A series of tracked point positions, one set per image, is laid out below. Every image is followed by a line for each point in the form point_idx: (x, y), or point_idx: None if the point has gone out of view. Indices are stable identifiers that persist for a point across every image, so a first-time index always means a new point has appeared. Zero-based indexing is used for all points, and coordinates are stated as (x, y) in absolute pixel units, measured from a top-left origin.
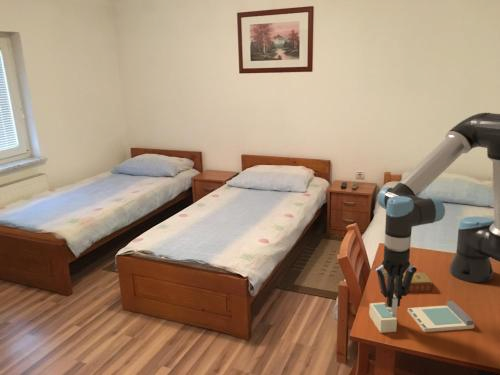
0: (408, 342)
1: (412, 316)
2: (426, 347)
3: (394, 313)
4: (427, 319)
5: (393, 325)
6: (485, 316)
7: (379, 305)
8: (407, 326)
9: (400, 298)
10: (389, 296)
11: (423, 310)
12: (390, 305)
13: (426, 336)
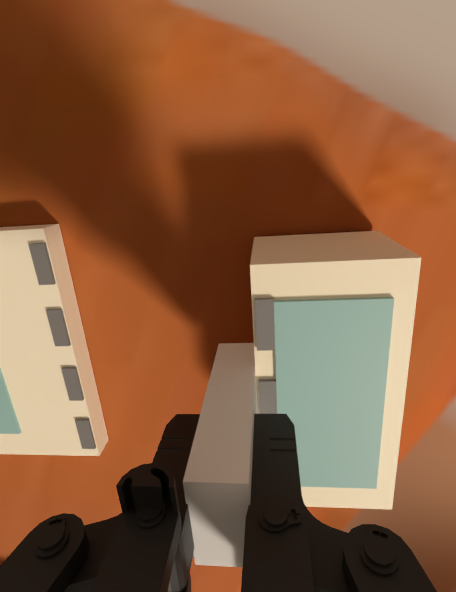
0: (207, 97)
1: (93, 387)
2: (89, 18)
3: (235, 361)
4: (4, 333)
5: (279, 248)
6: None
7: (325, 473)
8: (153, 296)
9: (147, 476)
10: (307, 534)
11: (10, 422)
12: (270, 427)
13: (57, 170)
